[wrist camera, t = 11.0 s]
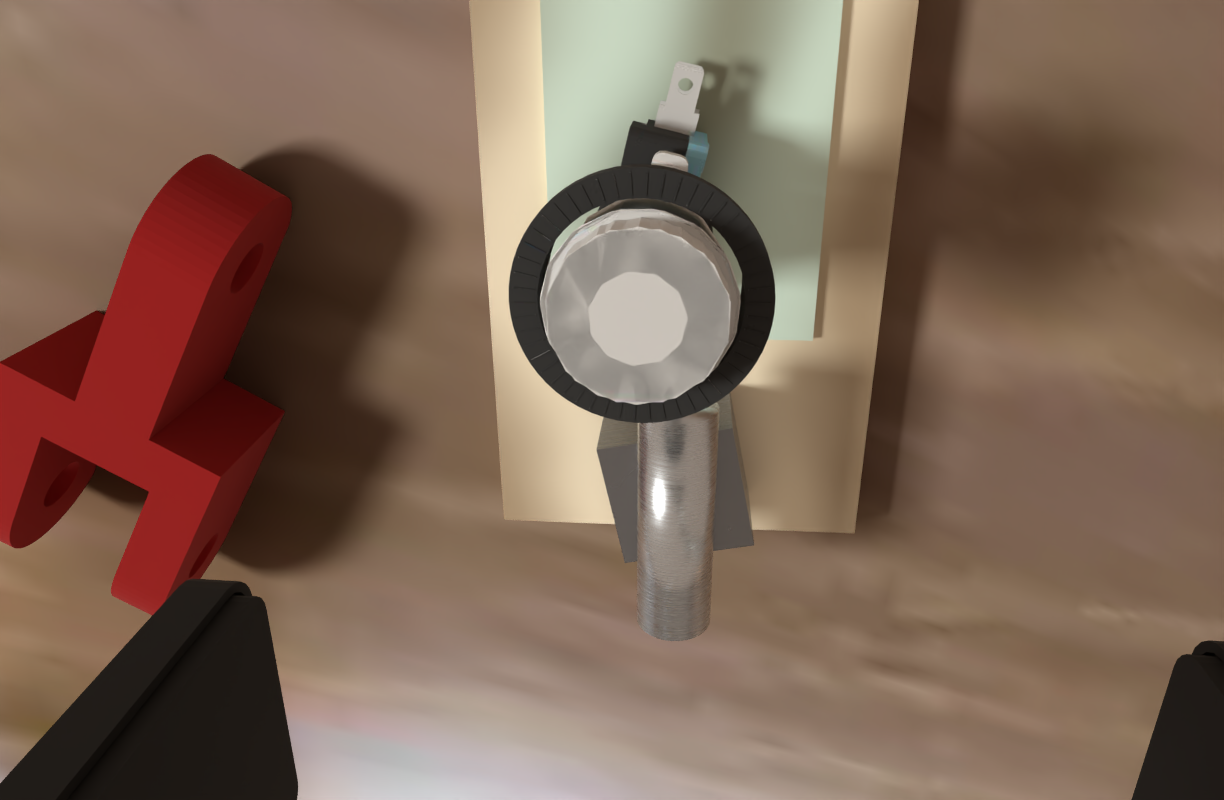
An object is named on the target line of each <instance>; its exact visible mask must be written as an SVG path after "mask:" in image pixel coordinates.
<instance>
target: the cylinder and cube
mask: <svg viewBox="0 0 1224 800" xmlns="http://www.w3.org/2000/svg"><path fill="white" fill-rule="evenodd" d="M596 450H597V454H598V458H599V462H600V466H601V470H602V474H603V478H604V482H605V486H606V490H607V494H608V498H609V502H610V506H611V510H612V513H613V517H614V521H615V525H616V529H617V533H618V537H619V541H620V545H621V549H622V553H623V557H624V561H625V563H628V562H635V561H637V621H638V623H639V625H640V627H641V628H642V629H643V630H644V631H645V632H646V633H648V634H649V635H651V636H653V637H656V638H659V639H662V640H668V641H683V640H688V639H692V638H694V637H697V636H698V635H700V634H702V633H703V632H704V631H705V630H706V629H707V627H708V625H709V622H710V606H711V584H712V562H713V551H716V550H723V549H730V548H738V547H745V546H752V545H754V540H753V530H752V520H751V511H750V501H749V492H748V486H747V481H746V475H745V470H744V465H743V459H742V454H741V448H740V443H739V437H738V432H737V426H736V421H735V415H734V410H733V404H732V399H731V393H729V394H727V395H726V396H725V397H723V398H722V399H721V400H719V401H718V402H716V403H714V404H713V405H711V406H709V407H708V408H705V409H703V410H701V411H699V412H697V413H694V414H692V415H689V416H686V417H683V418H679V419H675V420H671V421H664V422H657V423H631V422H624V421H617V420H613V419H609V418H605V417H603V421H602V426H601V431H600V435H599V440H598V444H597V449H596Z"/></svg>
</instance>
